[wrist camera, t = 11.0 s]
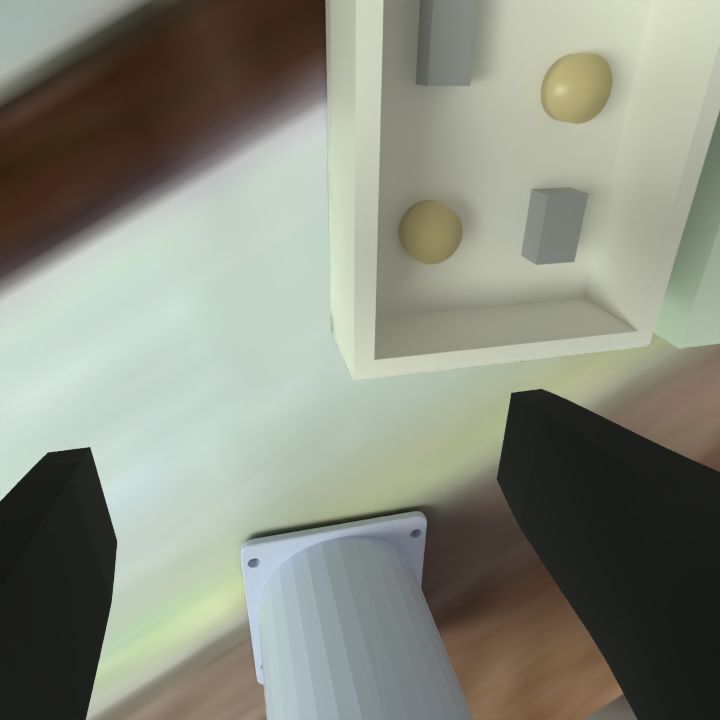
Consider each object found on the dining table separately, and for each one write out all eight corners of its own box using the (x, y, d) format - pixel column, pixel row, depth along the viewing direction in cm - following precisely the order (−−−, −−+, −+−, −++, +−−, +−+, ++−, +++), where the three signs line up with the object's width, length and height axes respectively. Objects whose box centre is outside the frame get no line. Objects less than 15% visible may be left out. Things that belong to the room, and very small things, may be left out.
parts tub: (586, 305, 21) (649, 346, 18) (331, 329, 19) (353, 380, 16) (677, -93, 15) (790, -130, 12) (323, -122, 13) (357, -175, 10)
